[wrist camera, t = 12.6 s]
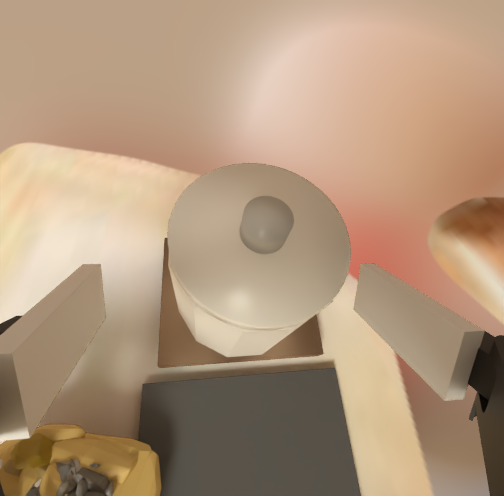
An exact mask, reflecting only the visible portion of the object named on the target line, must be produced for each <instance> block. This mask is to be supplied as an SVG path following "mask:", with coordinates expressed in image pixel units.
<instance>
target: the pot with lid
mask: <svg viewBox="0 0 504 496" xmlns="http://www.w3.org/2000/svg"><path fill="white" fill-rule="evenodd" d="M167 237H168V248H169V259H168V266H169V270H170V275H171V279H172V283H173V288H174V292H175V297H176V301H177V305H178V310H179V313H180V314H181V316H182V318H183V319H184V321H185V323H186V325H187V326H188V328H189V330H190V331H191V333H192V335H193V336H194V338H195V340H196V341H197V342H199V343H201V344H203V345H205V346H207V347H209V348H211V349H213V350H214V351H216V352H218V353H220V354H222V355H224V356H226V357H237V356H251V355H262V354H264V353H265V352H266V351H268V350H269V349H270V348H272V347H273V346H274V345H276V344H277V343H278V342H280V341H281V340H282V339H284V338H285V337H287V336H288V335H289V334H291V333H292V332H293V331H295V330H296V329H297V328H298V327H300V326H301V325H302V324H304V323H305V322H306V321H308V320H309V319H310V318H312V317H313V316H314V315H316V314H317V313H318V312H320V311H321V310H322V309H324V308H325V307H326V306H328V305H329V304H330V303H331V302H333V299H334V297H335V296H336V295H337V294H338V292H339V291H340V289H341V287H342V286H343V284H344V282H345V279H346V277H347V274H348V270H349V266H350V258H351V248H350V240H349V235H348V232H347V229H346V226H345V223H344V221H343V219H342V217H341V215H340V213H339V212H338V210H337V208H336V207H335V205H334V204H333V203H332V202H331V200H330V199H329V198H328V197H327V196H326V195H325V194H324V193H323V192H322V191H321V190H320V189H319V188H317V187H316V186H315V185H314V184H312V183H311V182H309V181H308V180H306V179H305V178H303V177H301V176H299V175H297V174H295V173H293V172H290V171H288V170H286V169H282V168H279V167H275V166H271V165H266V164H256V163H242V164H234V165H229V166H224V167H221V168H218V169H215V170H213V171H211V172H209V173H206V174H205V175H203V176H201V177H200V178H198V179H197V180H195V181H194V182H193V183H192V184H191V185H189V186H188V187H187V189H186V190H185V191H184V192H183V193H182V194H181V196H180V197H179V199H178V200H177V202H176V204H175V206H174V208H173V210H172V213H171V216H170V219H169V224H168V232H167Z"/></svg>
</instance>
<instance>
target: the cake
mask: <svg viewBox="0 0 504 496" xmlns="http://www.w3.org/2000/svg"><path fill="white" fill-rule="evenodd" d="M0 482H1V485H2V489H3V492H4V495H5V496H160V492H161V476H160V465H159V456H158V455H157V454H156V453H155V452H154V451H152V450H151V447H150V446H149V445H148V444H145V443H143V442H140V441H137V440H135V439H131V438H123V437H114V436H105V435H96V434H88V433H86V432H85V431H84V430H83V429H82V428H81V427H79V426H78V425H64V424H48V425H44V426H40V427H37V428H36V429H35V431H34V432H33V434H32V435H31V437H30V438H27V439H16V440H6V441H5V442H3V443H2V444H1V445H0Z"/></svg>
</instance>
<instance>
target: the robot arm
mask: <svg viewBox="0 0 504 496" xmlns="http://www.w3.org/2000/svg"><path fill="white" fill-rule="evenodd" d="M354 310H355V311H356V312H357V313H358V314H359V315H360V316H361V317H362V318H363V319H364V320H365V321H366V322H367V323H368V324H369V325H370V326H371V327H372V328H373V329H374V330H375V331H376V333H377V334H378V335H379V336H380V337H381V338H382V339H383V340H384V341H385V342H386V343H387V344H388V345H389V346H390V347H391V348H392V349H393V350H394V351H395V352H396V353H397V354H398V355H399V356H401V357H402V358H403V360H405V362H406V363H407V364H408V365H409V366H410V367H411V368H413V370H414V371H415V372H416V373H417V374H418V375H419V376H420V377H421V378H422V379H423V380H424V381H425V382H426V383H427V384H428V385H430V387H432V389H434V391H435V392H436V393H437V394H438V395H439V396H440V397H441V398H442V399H443V400H444V401H447V400H458V399H464V396H465V393H466V390H467V387H468V384H469V385H470V386H472V387H473V388H474V389H475V390H476V391H477V395H476V397H475V401H474V404H473V407H472V410H471V413H470V416H469V419H470V420H473V418H474V417H475V416H477V420H478V426H479V432H480V438H481V444H482V449H483V455H484V461H485V468H486V473H487V479H488V485H489V491H490V496H504V336H502V335H499V336H496V337H494V336H492V335H490V334H489V333H487V332H486V331H484V330H483V329H481V328H479V327H478V326H476V325H474V324H473V323H471V322H470V321H468V320H466V319H465V318H463V317H461V316H460V315H458V314H456V313H455V312H453V311H451V310H450V309H448V308H447V307H445V306H443V305H442V304H440V303H438V302H437V301H435V300H433V299H432V298H430V297H428V296H427V295H425V294H423V293H422V292H420V291H419V290H417V289H415V288H414V287H412V286H410V285H409V284H407V283H405V282H404V281H402V280H401V279H399V278H397V277H395V276H394V275H392V274H391V273H389V272H387V271H386V270H384V269H382V268H381V267H379V266H377V265H376V264H374V263H371V264H370V263H368V264H367V263H365V264H364V263H362V264H361V267H360V273H359V279H358V285H357V291H356V297H355V303H354ZM105 318H106V313H105V303H104V293H103V283H102V273H101V264H83V265H82V266H81V267H79V268H78V269H77V270H76V271H75V272H74V273H72V274H71V275H70V276H69V277H68V278H67V279H65V280H64V281H63V282H62V283H61V284H60V285H58V286H57V287H56V288H55V289H54V290H53V291H51V292H50V293H49V294H48V295H47V296H46V297H44V298H43V299H42V300H41V301H40V302H39V303H37V304H36V305H35V306H34V307H33V308H32V309H30V310H29V311H28V312H27V313H26V314H25V315H23V316H15V317H13V318H11V319H9V320H7V321H5V322H3V323H1V324H0V441H5V440H16V439H27V438H30V437H31V435H32V434H33V432H34V431H35V429H36V427H37V426H38V424H39V423H40V421H41V420H42V418H43V416H44V415H45V413H46V412H47V410H48V408H49V407H50V405H51V404H52V402H53V400H54V399H55V397H56V396H57V394H58V393H59V391H60V389H61V388H62V386H63V385H64V383H65V381H66V380H67V378H68V377H69V375H70V373H71V372H72V370H73V369H74V367H75V365H76V364H77V362H78V361H79V359H80V358H81V356H82V354H83V353H84V351H85V350H86V348H87V346H88V345H89V343H90V342H91V340H92V338H93V337H94V335H95V334H96V332H97V330H98V329H99V327H100V326H101V324H102V323H103V321H104V319H105ZM0 496H5V495H4V492H3V489H2V485H1V482H0Z"/></svg>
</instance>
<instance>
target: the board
mask: <svg viewBox="0 0 504 496" xmlns="http://www.w3.org/2000/svg"><path fill="white" fill-rule="evenodd" d="M168 259H169V248H168V238H165V242H164V260H163V278H162V297H161V315H160V333H159V351H158V367H159V368H164V367H177V366H191V365H204V364H217V363H230V362H244V361H257V360H270V359H283V358H297V357H310V356H319V355H321V354H323V349H322V343H321V338H320V333H319V327H318V322H317V317H316V315H314V316H313V317H312V318H310V319H309V320H308V321H306V322H305V323H304V324H302V325H301V326H300V327H298V328H297V329H296V330H295V331H293V332H292V333H291V334H289V335H288V336H287V337H285V338H284V339H282V340H281V341H280V342H278V343H277V344H276V345H274V346H273V347H272V348H270V349H269V350H268V351H266V352H265V353H264V354H262V355H251V356H237V357H226V356H224V355H222V354H220V353H218V352H216V351H214V350H213V349H211V348H209V347H207V346H205V345H203V344H201V343H199V342H197V341H196V340H195V338H194V336H193V335H192V333H191V331H190V330H189V328H188V326H187V325H186V323H185V321H184V319H183V318H182V316H181V314H180V313H179V310H178V305H177V301H176V297H175V292H174V288H173V283H172V279H171V275H170V270H169V266H168Z"/></svg>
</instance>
